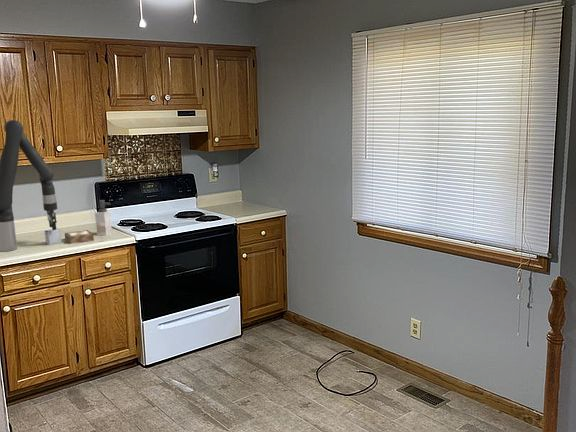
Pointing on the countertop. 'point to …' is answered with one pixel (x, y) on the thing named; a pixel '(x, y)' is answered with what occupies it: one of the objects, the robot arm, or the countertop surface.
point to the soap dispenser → (103, 220)
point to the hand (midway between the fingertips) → (53, 228)
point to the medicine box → (53, 236)
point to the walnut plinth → (79, 236)
